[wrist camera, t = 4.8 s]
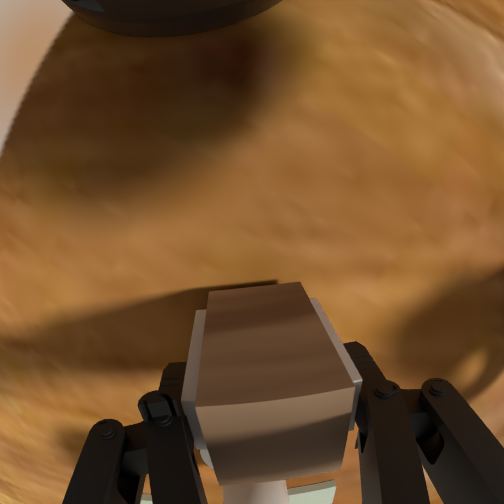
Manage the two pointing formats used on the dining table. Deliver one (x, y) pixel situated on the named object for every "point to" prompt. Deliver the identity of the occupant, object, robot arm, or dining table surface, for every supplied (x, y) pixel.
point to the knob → (252, 490)
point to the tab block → (270, 387)
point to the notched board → (295, 494)
